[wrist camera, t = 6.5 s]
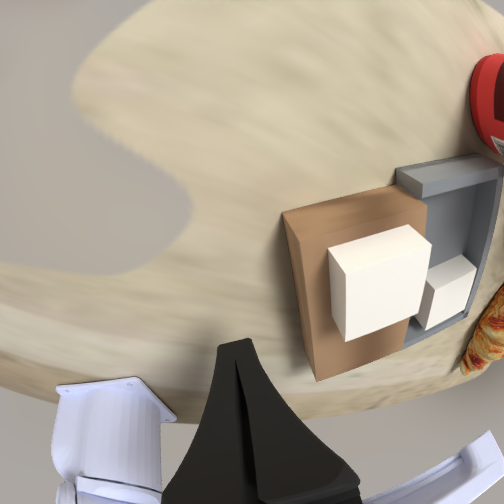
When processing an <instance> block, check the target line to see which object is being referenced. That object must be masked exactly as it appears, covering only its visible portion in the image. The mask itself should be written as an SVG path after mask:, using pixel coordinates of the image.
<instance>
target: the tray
mask: <svg viewBox="0 0 504 504" xmlns="http://www.w3.org/2000/svg"><path fill="white" fill-rule="evenodd" d="M503 177H504V165H502V164H500V163H498V162H496V161H494V160H492V159H490V158H488V157H486V156H484V155H482V154H480V153H479V154H472V155H466V156H460V157H454V158H448V159H442V160H436V161H431V162H425V163H420V164H414V165H409V166H404V167H399V168H396V184H397V185H398V186H400V187H401V188H403V189H404V190H406V191H407V192H409V193H410V194H412V195H413V196H414V197H416V198H417V199H419V200H420V201H422V202H423V203H425V204H426V205H427V206H428V207H427V218H426V228H425V237H424V238H425V239H426V240H427V241H428V242H429V243H430V244H431V245H432V247H431V253H430V259H429V265H428V269H430V268H432V267H435V266H437V265H439V264H441V263H443V262H446V261H448V260H450V259H452V258H454V257H456V256H458V255H460V254H462V255H463V256H464V257H465V258H466V259H467V260H468V261H470V262H471V263H472V264H473V265H474V266H475V267H476V268H477V270H476V273H475V277H474V281H473V284H472V287H471V291H470V294H469V297H468V300H467V303H466V306H465V309H464V310H462V311H461V312H459V313H457V314H455V315H454V316H452V317H450V318H448V319H446V320H445V321H443V322H441V323H439V324H437V325H435V326H433V327H431V328H430V329H428V330H426V331H425V330H424V329H423V327H422V326H421V324H420V323H419V322H418V320H417V319H416V318H415V316H414V315H413V316H410V320H409V324H408V328H407V332H406V335H405V339H404V343H403V346H402V349H405V348H407V347H409V346H411V345H413V344H415V343H418V342H420V341H422V340H424V339H426V338H428V337H430V336H432V335H434V334H436V333H438V332H440V331H442V330H444V329H445V328H447V327H449V326H451V325H453V324H455V323H457V322H458V321H460V320H462V319H464V318H466V317H467V315H468V313H469V310H470V308H471V305H472V302H473V300H474V297H475V294H476V291H477V288H478V286H479V283H480V280H481V276H482V273H483V270H484V267H485V263H486V260H487V256H488V253H489V249H490V245H491V241H492V237H493V233H494V228H495V224H496V219H497V214H498V209H499V203H500V197H501V191H502V184H503ZM402 349H401V350H402ZM399 351H400V350H399ZM397 352H398V351H397Z"/></svg>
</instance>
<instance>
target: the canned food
mask: <svg viewBox="0 0 504 504" xmlns="http://www.w3.org/2000/svg"><path fill="white" fill-rule="evenodd" d="M470 103H471V112H472V116H473V121H474V124H475V127H476V130H477V132H478V134H479V136H480V137H481V139H482V140H483V142H484V143H485V144H487V145H488V146H489V147H490V148H491V149H492V150H493V151H494V152H496V153H498V154H500V155H502V156H504V54H498V53H497V54H493V55H489V56H485V57H484V58H482V59H481V60H480V61H479V62H478V64H477V65H476V67H475V70H474V72H473V76H472V80H471V88H470Z"/></svg>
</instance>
